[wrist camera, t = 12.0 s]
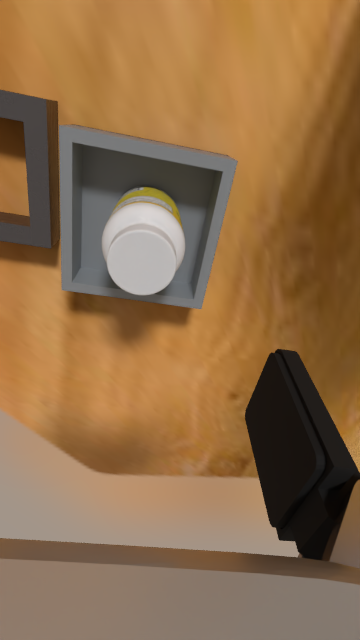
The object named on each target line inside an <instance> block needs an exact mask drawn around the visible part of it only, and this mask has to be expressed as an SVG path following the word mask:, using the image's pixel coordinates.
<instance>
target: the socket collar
mask: <svg viewBox="0 0 360 640" xmlns="http://www.w3.org/2000/svg"><path fill="white" fill-rule="evenodd" d="M0 117H2V118H7V119H12V120H17V121H22V122H24V137H25V153H26V168H27V183H28V199H29V214H30V217H29V216H23V215H16V214H10V213H4V212H0V241H5V242H12V243H18V244H25V245H31V246H38V247H45V248H52V247H53V246H54V245H55V244H56V242H57V241H58V240H59V239H60V221H59V165H58V108H57V101H52V100H47V99H43V98H38V97H33V96H28V95H23V94H19V93H14V92H9V91H4V90H0Z"/></svg>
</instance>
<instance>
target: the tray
mask: <svg viewBox="0 0 360 640" xmlns="http://www.w3.org/2000/svg"><path fill="white" fill-rule="evenodd" d="M59 144H60V208H61V271H62V290H65V291H73V292H80V293H87V294H95V295H102V296H109V297H116V298H124V299H131V300H138V301H145V302H153V303H160V304H167V305H175V306H182V307H189V308H196V309H201V308H202V304H203V300H204V296H205V292H206V288H207V283H208V279H209V275H210V271H211V267H212V263H213V259H214V255H215V251H216V247H217V243H218V239H219V235H220V231H221V226H222V222H223V218H224V214H225V210H226V206H227V202H228V198H229V194H230V190H231V186H232V182H233V178H234V173H235V169H236V165H237V160H235V159H233V158H231V157H230V156H228V155H223V154H218V153H213V152H208V151H203V150H198V149H193V148H188V147H183V146H178V145H173V144H168V143H163V142H158V141H153V140H148V139H143V138H138V137H133V136H129V135H124V134H119V133H114V132H109V131H104V130H99V129H94V128H89V127H84V126H79V125H59ZM138 186H152V187H156V188H159V189H161V190H163V191H164V192H166V193H167V194H168V195H169V196H170V197H171V198H172V199H173V200H174V202H175V203H176V205H177V208H178V210H179V214H180V218H181V223H182V228H183V232H184V237H185V253H184V258H183V260H182V263H181V265H180V267H179V268H178V270H177V271H176V272H175V275H174V277H173V279H172V280H171V282H170V283H169V284H168V285H167V286H166V287H165V288H164V289H163V290H161V291H159V292H157V293H155V294H151V295H135V294H131V293H129V292H126V291H125V290H123V289H121V288H120V287H119V286H118V285H117V284H116V283H115V282H114V281H113V280H112V278H111V276H110V274H109V272H108V268H107V263H106V261H105V259H104V256H103V252H102V235H103V231H104V228H105V225H106V223H107V221H108V220H109V218H110V216H111V214H112V212H113V210H114V208H115V206H116V204H117V202H118V201H119V199H120V198H121V197H122V196H123V195H124V194H125V193H126V192H127V191H129V190H130V189H132V188H135V187H138Z"/></svg>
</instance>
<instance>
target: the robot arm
mask: <svg viewBox="0 0 360 640" xmlns="http://www.w3.org/2000/svg"><path fill="white" fill-rule="evenodd" d="M245 420H246V424H247V429H248V433H249V437H250V441H251V446H252V450H253V454H254V458H255V463H256V467H257V471H258V475H259V480H260V484H261V488H262V492H263V497H264V501H265V505H266V509H267V513H268V518H269V521H270V524H271V525H272V527H275V528H276V530H277V534H278V538H279V540H283V541H295V542H296V545H297V549H298V552H299V556H298V558H296V557H285V556H273V555H261V554H248V553H236V552H221V551H205V550H188V549H173V548H158V547H141V546H125V545H108V544H91V543H74V542H57V541H40V540H22V539H4V538H0V640H360V473H359V471H358V468H357V467H356V465H355V463H354V461H353V459H352V457H351V455H350V453H349V451H348V449H347V447H346V445H345V443H344V441H343V439H342V438H341V436H340V434H339V432H338V430H337V428H336V426H335V424H334V422H333V420H332V418H331V416H330V414H329V412H328V410H327V409H326V407H325V405H324V403H323V401H322V399H321V397H320V395H319V393H318V391H317V389H316V387H315V385H314V383H313V382H312V380H311V378H310V376H309V374H308V372H307V370H306V368H305V366H304V364H303V362H302V360H301V358H300V356H299V354H298V353H297V352H295V351H290V350H282V349H277V350H276V351H275V353H271V354H270V355H269V357H268V359H267V361H266V364H265V366H264V368H263V371H262V373H261V375H260V378H259V380H258V383H257V385H256V387H255V390H254V392H253V394H252V397H251V399H250V401H249V404H248V406H247V408H246V412H245Z"/></svg>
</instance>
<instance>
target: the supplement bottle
mask: <svg viewBox="0 0 360 640" xmlns="http://www.w3.org/2000/svg"><path fill="white" fill-rule="evenodd" d="M102 252H103V256H104V259H105V261H106V263H107V268H108V272H109V274H110V276H111V278H112V280H113V281H114V282H115V283H116V284H117V285H118V286H119V287H120V288H121V289H123V290H125V291H126V292H129V293H131V294H135V295H151V294H155V293H157V292H159V291H161V290H163V289H164V288H165V287H166V286H167V285H168V284H169V283H170V282H171V280H172V279H173V277H174V275H175V272H176V271H177V270H178V268H179V267H180V265H181V263H182V260H183V258H184V253H185V237H184V232H183V228H182V223H181V218H180V214H179V210H178V208H177V205H176V203H175V202H174V200H173V199H172V198H171V197H170V196H169V195H168V194H167V193H166V192H164V191H163V190H161V189H159V188H156V187H152V186H138V187H135V188H132V189H130V190H129V191H127V192H126V193H125V194H124V195H123V196H122V197H121V198H120V199H119V201H118V202H117V204H116V206H115V208H114V210H113V212H112V214H111V216H110V218H109V220H108V221H107V223H106V225H105V228H104V231H103V235H102Z"/></svg>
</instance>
